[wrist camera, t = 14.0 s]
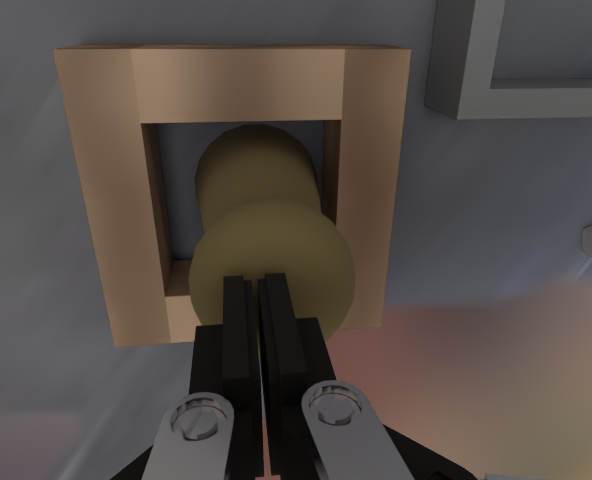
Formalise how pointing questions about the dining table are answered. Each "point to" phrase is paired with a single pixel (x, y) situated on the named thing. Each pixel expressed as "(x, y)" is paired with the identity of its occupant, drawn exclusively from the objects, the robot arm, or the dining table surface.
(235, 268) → the cork
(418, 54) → the dining table surface
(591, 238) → the lighter
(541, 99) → the grey square frame
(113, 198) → the socket block
